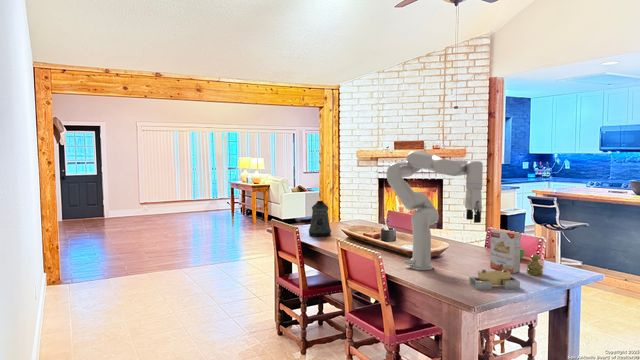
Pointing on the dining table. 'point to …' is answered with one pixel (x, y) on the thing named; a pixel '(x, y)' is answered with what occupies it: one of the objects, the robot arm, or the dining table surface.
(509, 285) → the chain end
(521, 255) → the fruit basket
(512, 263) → the cracker box
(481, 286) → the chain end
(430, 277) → the dining table surface
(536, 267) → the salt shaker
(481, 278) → the link
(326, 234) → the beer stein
